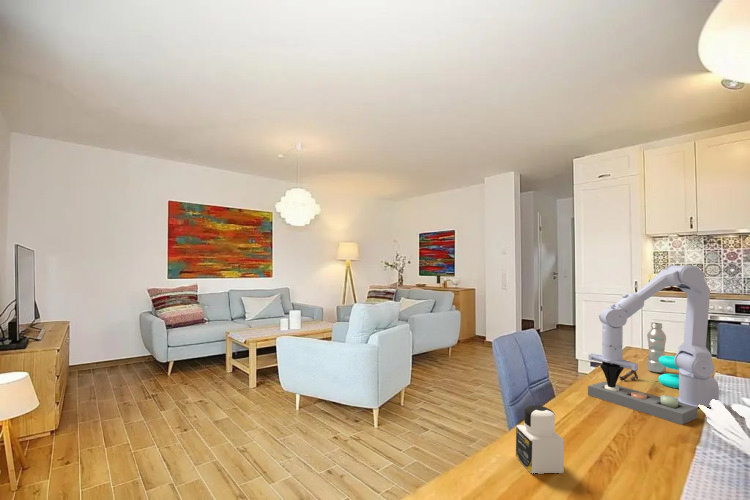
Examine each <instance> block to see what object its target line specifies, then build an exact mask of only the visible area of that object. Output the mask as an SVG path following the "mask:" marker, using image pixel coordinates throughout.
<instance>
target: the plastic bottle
mask: <svg viewBox="0 0 750 500" xmlns="http://www.w3.org/2000/svg"><path fill="white" fill-rule="evenodd" d="M650 325H651V326H650V327H651V329H650V330H649V331H647V332H648V333H647V334H646V338H647V344H648V345H647V346H648V355H647V360H646V369H647V370H648V371H650V372H653V373H658V374H660V373H661V374H662V373H663V374H665V373H666V370H667V367H665V366H663V365H661V364H660V363H659V358H660V357H661V356H666V354H665V349H666V343H667V342H666V341H667V336H666V334H665V332H664V331H663V330H662V329H663V324H662V323H661V322H650Z"/></svg>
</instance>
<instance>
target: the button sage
mask: <svg viewBox="0 0 750 500" xmlns="http://www.w3.org/2000/svg"><path fill="white" fill-rule="evenodd" d="M660 397H661V405H663V406H667V407H670V408H674V409H677V408H678V399H677V398H675V397H676V396H673V395H672V396H671V395H668V394H667V395H666V394H663V395H660Z"/></svg>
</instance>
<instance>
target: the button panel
mask: <svg viewBox="0 0 750 500" xmlns="http://www.w3.org/2000/svg"><path fill="white" fill-rule="evenodd" d="M605 385H608V384H607V381H601V382H598V383H594V384H590V385H588V386H587V395H588V396H590V397H593V398H597V399H599V400H602V401H604V402H609V403H612V404H615V405H619V406H622V407H623V408H624V407H625V408H628V409H631V410H634V411H637V412H640V413H643V414H646V415H649V416H653V417H656V418H658V419H663V420H666V421H669V422H671V423H675V424H679V425H681V426H682V425H685V424H687V423H690V422H691V421H692V422H693V421H694V420H697V419H698V409H699V408H698V407H694V406H691V405H687V404H683V403H681V402H678V408H677V409H674V408H670V407H667V406H663V405H661V396H658V395H654V394H650V393H646V392H643V391H640V390H636V389H633V388H629V387H625V386H622V385H619V384H616V386H617V387H619V391H616V392H615V391H612V390H608V389H605ZM631 392H638V393H643V394H645V395H647V399H645V400H643V399H639V398H636V397H632V396H631Z"/></svg>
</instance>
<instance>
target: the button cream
mask: <svg viewBox="0 0 750 500" xmlns="http://www.w3.org/2000/svg"><path fill="white" fill-rule="evenodd" d="M605 389H608V390H612V391H615V392H616V391H619V387H617V386H616V387H613V388H611V387H608V385H605Z"/></svg>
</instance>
